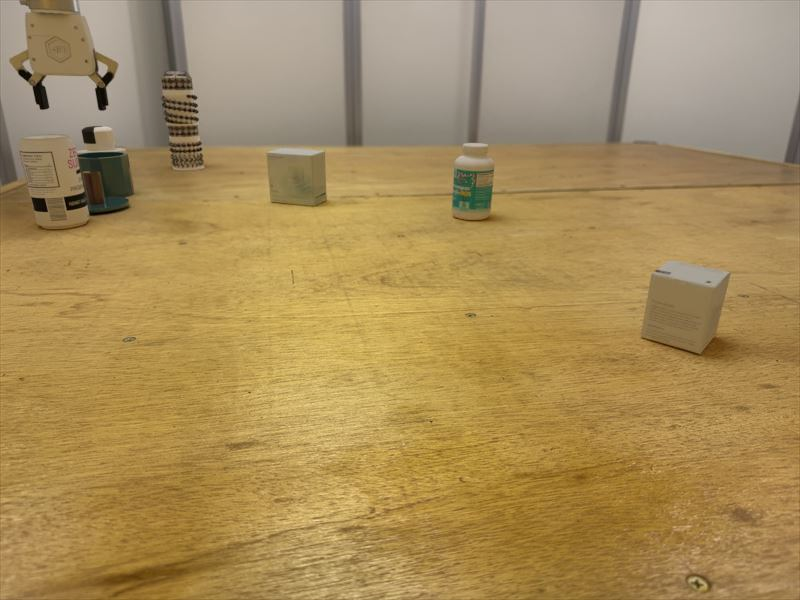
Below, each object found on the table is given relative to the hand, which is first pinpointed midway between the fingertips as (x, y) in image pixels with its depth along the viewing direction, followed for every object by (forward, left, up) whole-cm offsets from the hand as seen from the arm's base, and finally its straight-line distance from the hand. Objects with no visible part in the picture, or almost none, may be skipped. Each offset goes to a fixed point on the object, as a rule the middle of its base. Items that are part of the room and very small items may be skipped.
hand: (74, 109), depth 102 cm
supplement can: (-2, -13, -19) cm, 23 cm away
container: (-3, +27, -19) cm, 33 cm away
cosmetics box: (+40, -3, -19) cm, 44 cm away
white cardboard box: (+73, -77, -19) cm, 107 cm away
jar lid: (+1, -1, -18) cm, 18 cm away
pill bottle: (+71, -23, -19) cm, 77 cm away
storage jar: (0, +13, -18) cm, 22 cm away
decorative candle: (+14, +46, -19) cm, 52 cm away
